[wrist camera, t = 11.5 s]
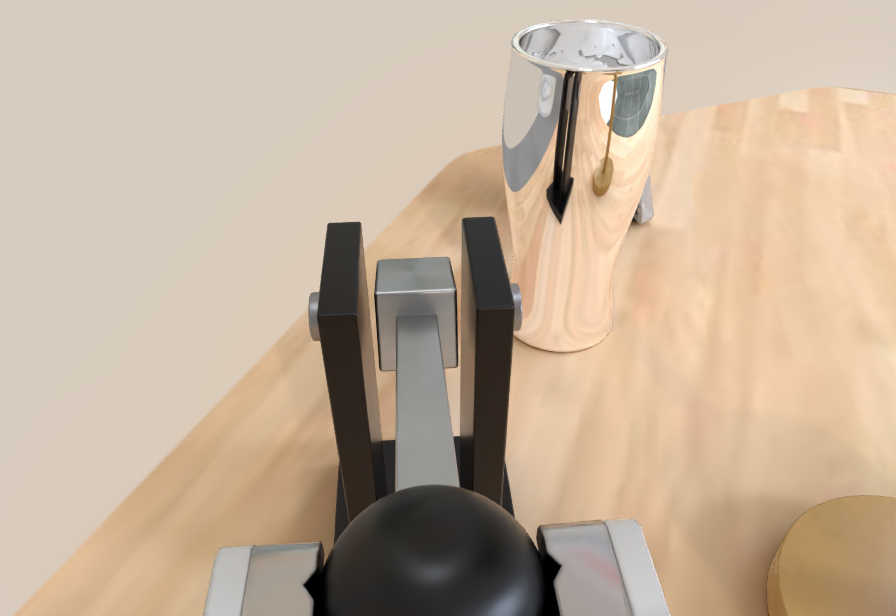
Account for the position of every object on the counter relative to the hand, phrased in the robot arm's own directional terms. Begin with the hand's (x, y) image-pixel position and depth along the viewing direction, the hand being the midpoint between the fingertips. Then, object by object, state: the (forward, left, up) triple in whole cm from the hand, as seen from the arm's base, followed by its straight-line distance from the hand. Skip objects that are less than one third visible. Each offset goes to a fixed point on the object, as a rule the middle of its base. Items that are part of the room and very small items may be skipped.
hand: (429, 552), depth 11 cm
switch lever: (-3, +3, -3) cm, 5 cm away
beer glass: (-12, +22, -15) cm, 29 cm away
